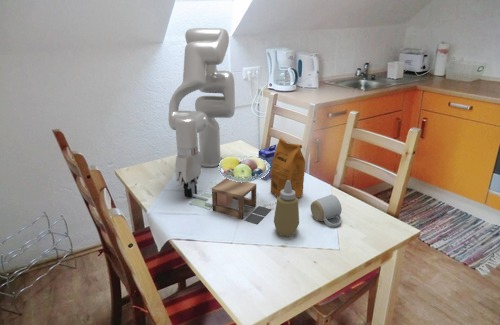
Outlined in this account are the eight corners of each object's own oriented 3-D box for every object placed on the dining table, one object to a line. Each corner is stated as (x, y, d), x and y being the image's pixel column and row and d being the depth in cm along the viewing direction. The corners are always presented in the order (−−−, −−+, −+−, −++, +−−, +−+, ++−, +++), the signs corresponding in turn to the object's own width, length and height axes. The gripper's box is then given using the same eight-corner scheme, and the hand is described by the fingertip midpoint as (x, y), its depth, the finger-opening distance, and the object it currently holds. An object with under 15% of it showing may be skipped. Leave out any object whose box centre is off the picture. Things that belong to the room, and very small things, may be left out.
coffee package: (285, 185, 145) (287, 134, 136) (306, 197, 135) (310, 142, 127) (266, 191, 139) (267, 138, 131) (286, 204, 130) (289, 148, 122)
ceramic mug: (308, 215, 123) (309, 196, 120) (326, 209, 126) (328, 190, 123) (327, 231, 114) (330, 210, 111) (347, 224, 118) (350, 204, 115)
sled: (182, 198, 133) (181, 185, 131) (193, 191, 139) (193, 178, 137) (233, 213, 123) (233, 199, 121) (243, 204, 129) (243, 190, 127)
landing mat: (189, 203, 130) (189, 203, 130) (204, 192, 138) (204, 192, 138) (209, 209, 126) (209, 209, 126) (224, 198, 134) (224, 197, 134)
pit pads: (244, 220, 120) (244, 220, 119) (258, 206, 129) (258, 205, 128) (257, 224, 117) (257, 223, 117) (271, 209, 126) (271, 209, 126)
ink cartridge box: (265, 180, 149) (266, 148, 143) (257, 176, 153) (257, 145, 147) (282, 174, 155) (283, 143, 149) (273, 170, 159) (274, 140, 153)
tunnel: (212, 211, 125) (211, 188, 122) (227, 198, 134) (227, 177, 130) (242, 219, 120) (242, 196, 117) (256, 206, 129) (256, 183, 125)
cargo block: (215, 203, 128) (215, 191, 126) (222, 197, 131) (221, 186, 129) (226, 205, 126) (225, 194, 124) (232, 200, 129) (232, 189, 128)
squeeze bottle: (291, 242, 108) (294, 189, 101) (268, 234, 112) (270, 182, 105) (302, 229, 115) (306, 179, 108) (280, 222, 119) (282, 173, 112)
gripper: (192, 142, 137) (195, 185, 144) (165, 155, 123) (169, 202, 130) (208, 145, 133) (210, 189, 140) (182, 159, 120) (185, 206, 127)
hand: (190, 194), depth 135 cm, fingers closed on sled, 2 cm apart
